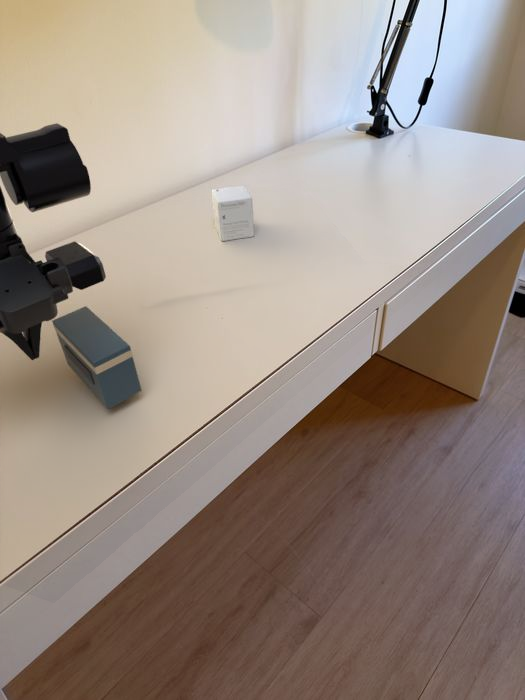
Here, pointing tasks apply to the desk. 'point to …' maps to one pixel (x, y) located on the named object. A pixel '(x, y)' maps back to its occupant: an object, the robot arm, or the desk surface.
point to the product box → (233, 213)
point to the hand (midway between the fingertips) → (34, 357)
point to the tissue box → (98, 356)
